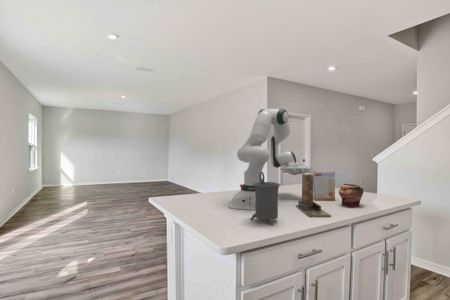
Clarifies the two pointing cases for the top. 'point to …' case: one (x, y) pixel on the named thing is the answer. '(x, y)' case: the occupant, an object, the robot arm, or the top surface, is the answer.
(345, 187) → the decorative planter
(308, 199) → the walnut block
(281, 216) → the top surface
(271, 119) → the robot arm
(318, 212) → the steel chute
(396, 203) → the top surface
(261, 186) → the footed curly-handled cup
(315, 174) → the cracker box
